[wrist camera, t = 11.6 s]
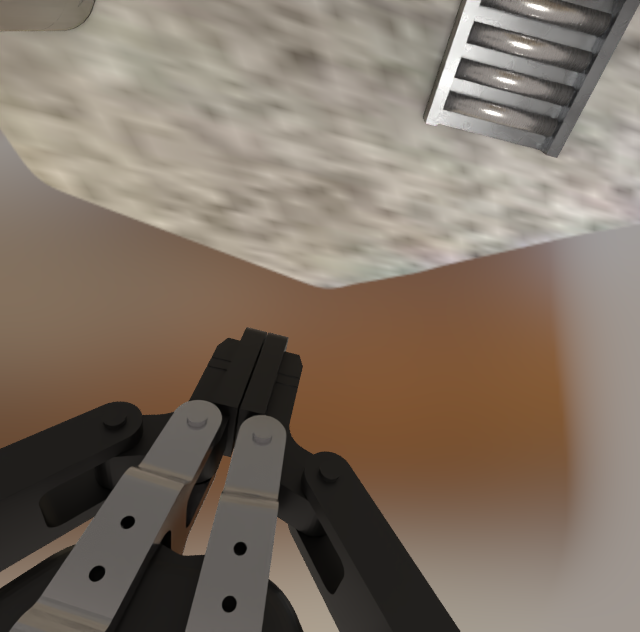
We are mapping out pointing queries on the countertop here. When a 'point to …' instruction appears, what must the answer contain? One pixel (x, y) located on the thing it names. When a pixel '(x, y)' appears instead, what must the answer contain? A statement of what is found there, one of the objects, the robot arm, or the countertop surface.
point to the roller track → (525, 67)
